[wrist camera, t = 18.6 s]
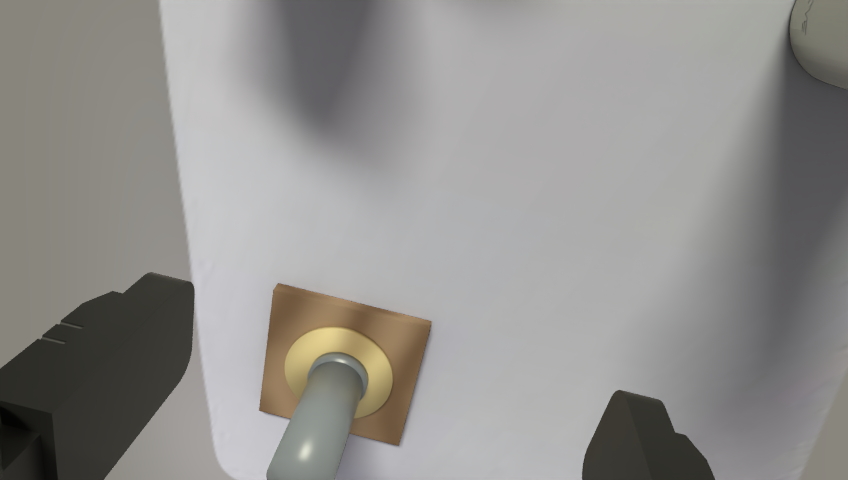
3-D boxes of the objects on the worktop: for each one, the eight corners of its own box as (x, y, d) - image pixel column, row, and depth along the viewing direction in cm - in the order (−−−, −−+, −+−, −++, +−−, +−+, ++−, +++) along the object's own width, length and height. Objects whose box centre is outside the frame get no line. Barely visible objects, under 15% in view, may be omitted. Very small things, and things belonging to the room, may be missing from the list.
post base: (431, 321, 50) (429, 332, 49) (400, 436, 57) (397, 450, 55) (278, 283, 51) (271, 293, 49) (263, 402, 57) (256, 414, 55)
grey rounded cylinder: (373, 359, 51) (340, 463, 40) (363, 405, 53) (330, 515, 42) (314, 345, 51) (265, 445, 40) (307, 392, 53) (259, 498, 42)
